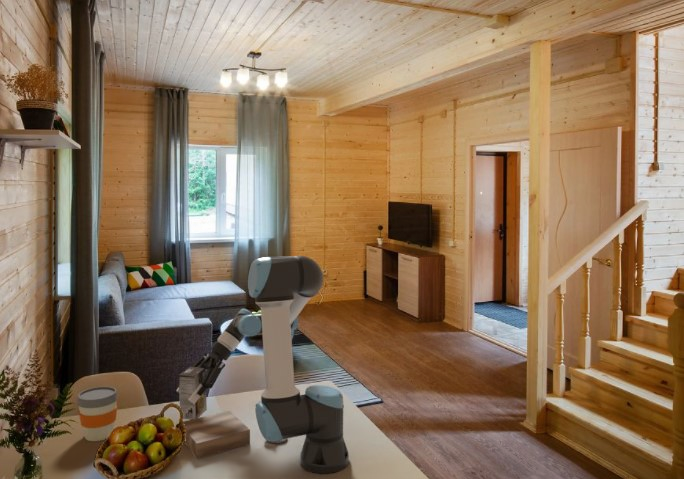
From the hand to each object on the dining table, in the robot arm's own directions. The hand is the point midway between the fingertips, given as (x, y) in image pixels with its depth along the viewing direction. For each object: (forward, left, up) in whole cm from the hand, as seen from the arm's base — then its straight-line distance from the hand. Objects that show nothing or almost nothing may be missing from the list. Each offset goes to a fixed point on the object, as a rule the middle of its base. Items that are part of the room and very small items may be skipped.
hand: (184, 397), depth 191 cm
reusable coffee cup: (+9, +27, -11) cm, 31 cm away
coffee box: (0, -3, -7) cm, 8 cm away
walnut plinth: (-16, -5, -11) cm, 20 cm away
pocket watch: (-26, -23, -11) cm, 36 cm away
